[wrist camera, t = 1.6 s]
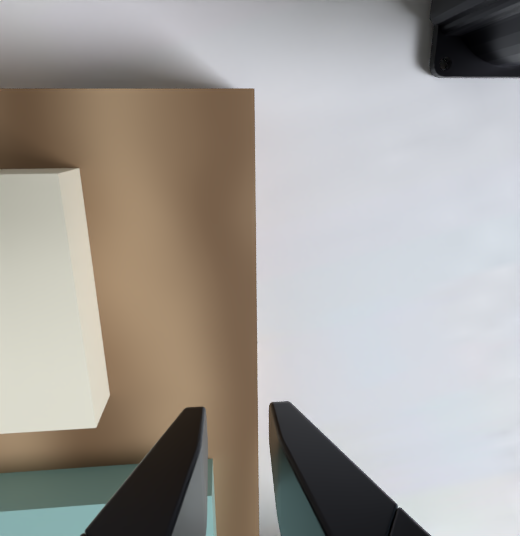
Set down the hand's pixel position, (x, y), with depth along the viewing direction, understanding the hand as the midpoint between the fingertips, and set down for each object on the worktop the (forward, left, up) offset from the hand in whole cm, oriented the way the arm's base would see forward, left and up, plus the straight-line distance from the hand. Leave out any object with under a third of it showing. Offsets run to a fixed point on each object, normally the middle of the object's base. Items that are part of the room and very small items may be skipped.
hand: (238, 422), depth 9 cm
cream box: (+8, 0, -8) cm, 11 cm away
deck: (+6, +4, -12) cm, 14 cm away
